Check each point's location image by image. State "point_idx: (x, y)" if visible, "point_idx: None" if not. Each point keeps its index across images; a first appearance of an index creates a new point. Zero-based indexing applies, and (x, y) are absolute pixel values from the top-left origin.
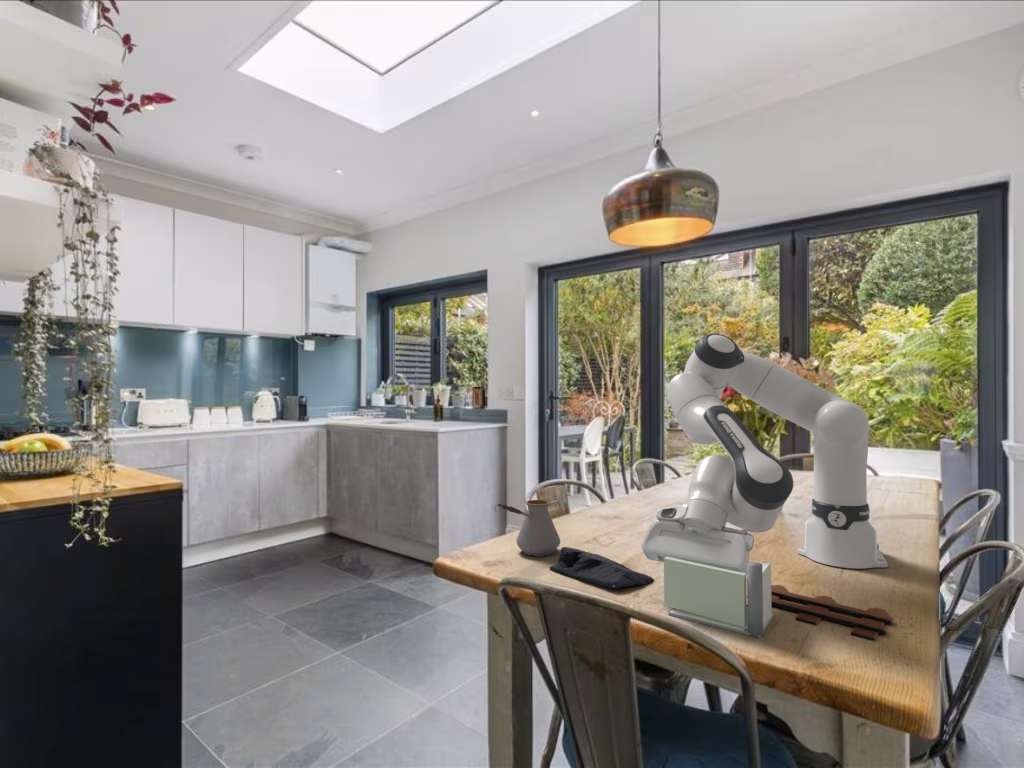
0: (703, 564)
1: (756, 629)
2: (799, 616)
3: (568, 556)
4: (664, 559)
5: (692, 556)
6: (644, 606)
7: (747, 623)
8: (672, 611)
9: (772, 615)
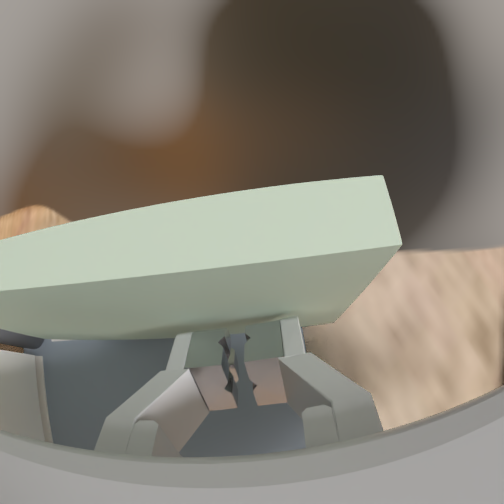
0: (8, 290)
1: None
2: None
3: None
4: (370, 181)
5: (163, 486)
6: (401, 272)
7: (57, 375)
8: None
9: None
